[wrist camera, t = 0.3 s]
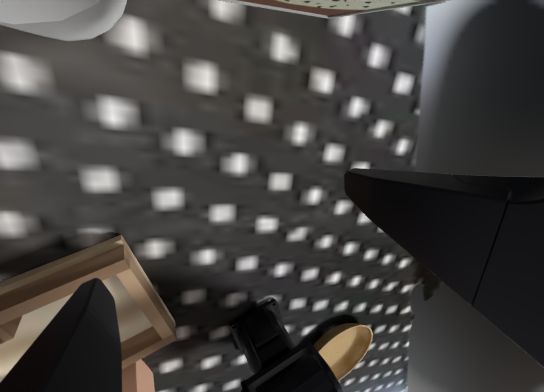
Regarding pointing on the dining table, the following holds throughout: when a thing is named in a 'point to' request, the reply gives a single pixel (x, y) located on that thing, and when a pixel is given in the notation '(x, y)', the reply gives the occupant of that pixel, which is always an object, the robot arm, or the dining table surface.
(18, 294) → the beige shallow tray
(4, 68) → the dining table surface
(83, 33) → the can
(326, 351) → the plant saucer
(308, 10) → the food container
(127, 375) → the peg
